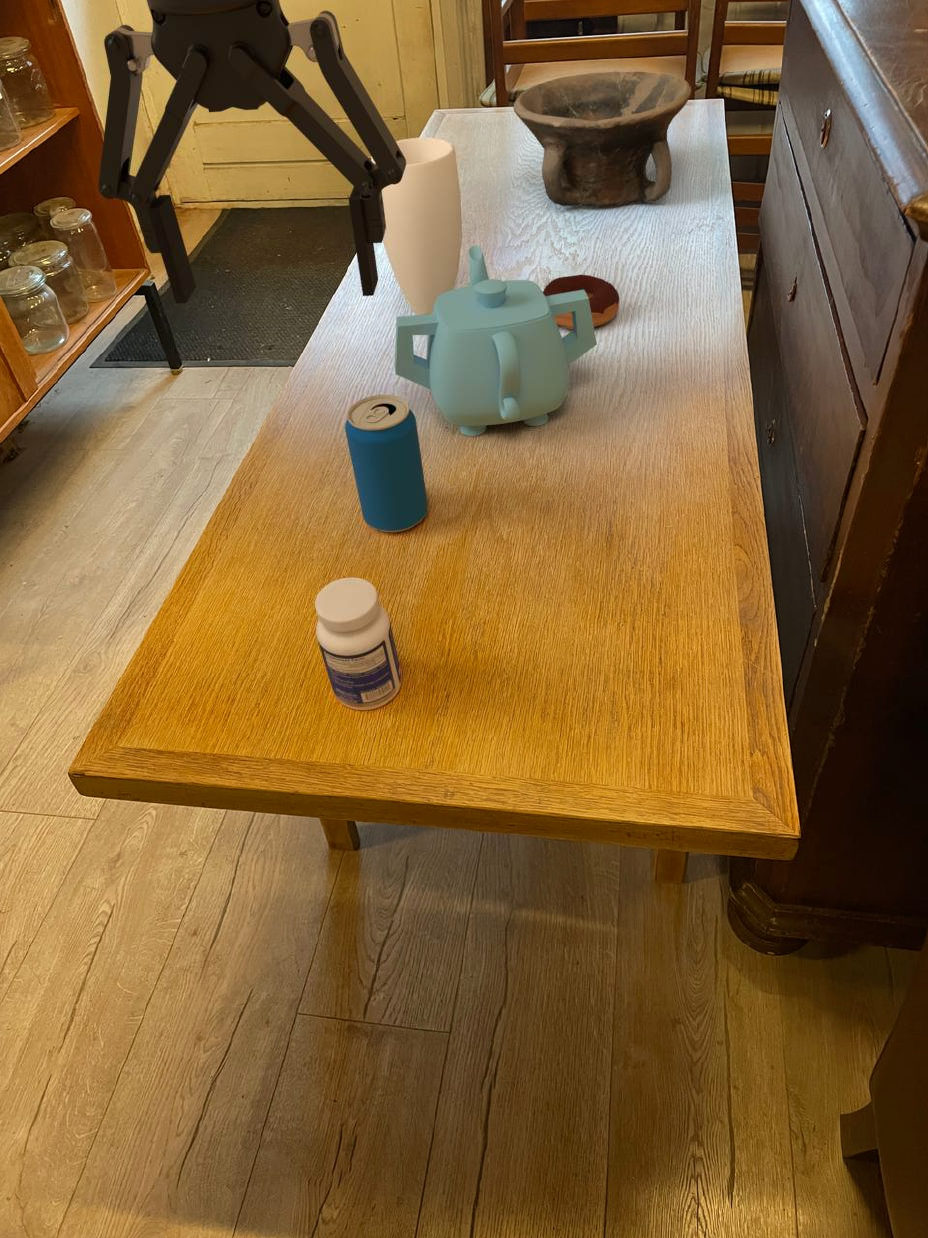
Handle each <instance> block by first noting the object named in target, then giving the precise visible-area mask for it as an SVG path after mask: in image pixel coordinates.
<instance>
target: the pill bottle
mask: <svg viewBox="0 0 928 1238" xmlns="http://www.w3.org/2000/svg"><path fill="white" fill-rule="evenodd" d="M314 608H315V612H316V615H317V619H318V621H317V623H316V628H315V635H316V639H317V640H316V641H317V643H318V646H319V649H320V653H321V656H322V660H323V663H324V666H325V669H326V673H327V676H328V679H329V682H330V686H331V689H332V693H333V695H334V697H335V699H336V700H337V701H338V702H339V703H340V704H342V705H343V706H345V707H347V708H349V709H351V710H357V711H370V710H371V711H372V710H375V709H378V708H381V707H383V706H385V705H386V704H388V703H389V702H391V701H392V700H393V699H394V698H395V697H396V696H397V694H398V693H399V692H400V689H401V687H402V681H403V675H402V669H401V665H400V659H399V655H398V650H397V646H396V642H395V637H394V633H393V628H392V623H391V620H390V619H391V618H390V617H389V614H388V612H387V610H386V609H385V608H384V606H382V605H381V602H380V599H379V595H378V591H377V589H376V587H375V585H374V584H372V582H370V581H368V580H367V579H364V578H361V577H354V576H353V577H351V576H350V577H342V578H339V579H336V580H333V581H331V582H330V583H327V584H326V585H325V586H323V588H321V590H320V591H319V592H318V594H317V595H316V597H315V601H314Z"/></svg>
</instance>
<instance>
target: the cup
mask: <svg viewBox="0 0 928 1238" xmlns="http://www.w3.org/2000/svg"><path fill="white" fill-rule="evenodd" d="M395 141H396V143H397V145H398V146H399V148H400V150H401V152H402V153H403V155H404V157H405V159H406V167H405V170H404V174H403V177H402V179H401V181H400V182H399V183H398V184H395V185H394V184H391V185H389V186H387V187H385V188H383V189H382V197H383V205H384V213H385V221H386V230H385V234H384V237H383V241H382V244H383V246H384V250H385V252H386V255H387V258H388V261H389V264H390V266H391V270H392V273H393V275H394V278H395V280H396V282H397V284H398V286H399V288H400V290H401V293H402V294H403V297H404V299H405V301H406V302H407V303H408V305H409V307H410V309H411V311H412V312H413V313H414V314H415V315H422V314H432V312H433V307H434V304H435V301H436V298H437V297H438V296H439V295H440V294H442V293H444V292H447V291H450V290H453V289H456V288H455V287H456V284H457V279H458V275H459V269H460V258H461V249H462V242H463V241H462V239H463V225H462V223H463V222H462V221H463V220H462V196H461V187H460V180H459V170H458V162H457V153H456V148H455V146H454V144H453V143H452V142H450V141H448V140H446V139H444V138H443V139H442V138H437V137H412V138H404V139H400V140H395ZM370 160H371V161H372V162H373V163H374V164H376V163H375V161H374V160H373V158H372V156H371V155H370Z"/></svg>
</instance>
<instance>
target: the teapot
mask: <svg viewBox="0 0 928 1238" xmlns="http://www.w3.org/2000/svg"><path fill="white" fill-rule="evenodd" d="M468 265H469V281H468V285H467V286H463V287H458V288H454V289H453V290H450V291H447V292H444V293H442V294H440V295H439V296H438V297H437V298H436V301H435V304H434V307H433V312H432V314H422V315H417V314H414V315H413V314H412V315H402V316H396V321H395V343H394V363H393V364H394V372H395V375H397V376H399V377H400V378H401V377H402V378H404V379H406V380H408V381H410V382H412V383H414V384H416V385H419V386H422V387H424V388H425V389H428V390H429V391H430V394H431V396H432V398H433V401H434V403H435V405H436V407H437V409H438V410H439V412H440V414H441V415H442V416H443V418H444V419H445V420H446V421H447V423H449V424H452V425H455V426H460V429H459V431H460V433H461V434H462V435H464V436H467V437H476V436H479V435H482V434H484V433H485V432H486V430H487V426H489V425H490V426H491V425H493V426H494V425H501V424H509V423H515V422H519V421H520V422H521V421H522V422H523V423H524V424H525V425H527V426H531V427H539V426H543V425H545V424H547V423H548V422H549V419H550V417H549V416H548V413H551V412H555V410H557V409H559V408H560V407H561V405H562V404H563V402H564V400H565V398H566V397H567V394H568V392H569V387H570V372H569V371H570V369H569V366H571V365H573V364H574V363H575V362H576V361H577V360H579V359H580V358H581V357H582V356H584V355H585V354H586V353H588V352H589V351H590V350H592V349H593V348H595V347H596V346H597V344H598V343H597V338H596V332H595V327H594V326H593V320H592V315H591V309H590V303H589V298H588V296H587V294H586V292H585V290H579V291H573V292H567V293H562V294H556V295H550V296H545V295H544V294H543V290H542V289H541V287H540V285H538V284H537V283H536V282H535V281H533V280H527V279H513V280H501V279H496V278H491V279H490V278H489V274H488V271H487V266H486V261H485V256H484V253H483V251H482V248H480V247H479V246H478V245H472V246H471V247H469V249H468ZM570 312H572V319H573V329H572V330H571V331H570V332H568V333H567V334H565V335H564V336H562V333H561V331H560V328H559V325H558V324H557V322H556V320H555V316H559V315H562V314H566V313H570ZM414 336H427V338H426V358H424V357H422V356H419V355H416V354H415V353H414V352H415V351H414Z"/></svg>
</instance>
